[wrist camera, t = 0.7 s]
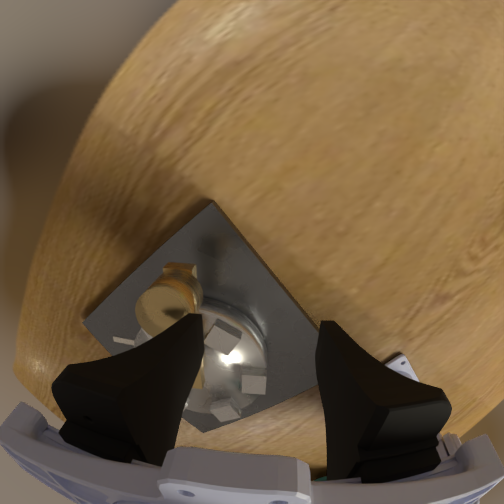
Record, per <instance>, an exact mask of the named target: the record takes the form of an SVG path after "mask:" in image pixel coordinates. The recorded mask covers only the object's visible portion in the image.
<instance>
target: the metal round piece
mask: <svg viewBox="0 0 504 504" xmlns="http://www.w3.org/2000/svg"><path fill="white" fill-rule="evenodd" d="M188 313H196V314H202V321H203V335H204V348H205V350H204V355H203V359H202V363H201V367H200V369H199V372H198V374H197V377H196V379H195V382H194V384H193V387H192V389H191V391H190V394H189V396H188V399H187V401H186V404H185V407H184V410H185V409H187V410H191V411H195V412H200V413H208V414H214V415H215V416H216V418H217V419H218V420H219V421H220V422H224V421H228V420H233V419H237V418H241V412H242V408H244V407H246V406H248V405H249V404H251V403H252V402H253V401H254V400H256V399H257V397H258V396H259V395H260V394H264V395H265V391H266V378H267V347H266V343H265V341H264V338H263V336H262V334H261V333H260V331H259V330H258V328H257V327H256V325H255V324H254V323H253V322H252V321H251V320H250V319H249V318H248V317H246V316H245V315H244V314H243V313H241V312H240V311H238V310H237V309H235V308H233V307H231V306H229V305H227V304H225V303H222V302H220V301H217V300H213V299H209V298H203V290H202V287H201V285H200V283H199V281H198V280H197V266H196V264H192V263H175V262H168V263H167V264H166V265H165V266H164V267H163V273H162V274H161V275H160V276H159V277H158V278H157V279H156V280H155V281H154V282H153V283H152V285H151V286H150V287H149V288H148V289H147V290H146V291H145V292H144V293H143V294H142V295H141V296H140V297H139V299H138V300H137V302H136V306H135V314H136V318H137V321H138V323H139V324H140V326H141V327H142V328H141V329H140V330H139V332H138V334H137V336H136V339H135V342H134V348H135V347H137V346H139V345H141V344H143V343H145V342H146V341H148V340H150V339H152V338H153V337H155V336H156V335H158V334H160V333H161V332H163V331H164V330H166V329H167V328H169V327H170V326H171V325H173V324H174V323H176V322H177V321H178V320H180V319H181V318H182V317H184V316H185V315H187V314H188ZM184 410H183V411H184Z"/></svg>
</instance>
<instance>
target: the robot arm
mask: <svg viewBox="0 0 504 504" xmlns="http://www.w3.org/2000/svg"><path fill="white" fill-rule="evenodd" d="M204 350H205V348H204V335H203V321H202V314H196V313H188V314H187V315H185V316H184V317H182V318H181V319H180V320H178V321H177V322H176V323H174V324H173V325H171V326H170V327H169V328H167V329H166V330H164V331H163V332H161V333H160V334H158V335H156V336H155V337H153V338H152V339H150V340H148V341H146V342H145V343H143V344H141V345H139V346H137V347H135V348H132V349H130V350H128V351H125V352H122V353H120V354H117V355H114V356H111V357H108V358H104V359H100V360H96V361H91V362H85V363H78V364H69V365H68V366H67V367H66V368H65V369H64V370H63V371H62V373H61V374H60V375H59V376H58V377H57V378H56V380H55V381H54V382H53V383H52V387H51V388H52V393H53V396H54V398H55V401H56V402H57V404H58V406H59V408H60V409H61V411H62V413H63V415H64V416H65V418H66V422H65V423H64V425H63V426H62V428H61V429H60V430H58V429H56V428H54V427H52V426H50V425H48V423H47V421H46V419H45V417H44V416H43V415H42V414H41V413H40V412H39V411H38V410H36V409H34V408H33V407H31V406H29V405H27V404H26V403H24V402H20V403H19V404H18V405H17V407H16V408H15V409H14V410H13V411H12V413H11V414H10V415H9V416H8V417H7V419H6V420H5V421H4V422H3V424H2V425H1V426H0V445H1V446H2V447H3V448H4V450H5V451H6V452H7V453H8V454H9V455H10V456H11V457H12V458H13V459H14V461H15V462H16V463H17V464H18V465H19V466H20V467H21V468H22V469H23V470H25V471H26V472H28V473H29V474H30V475H32V476H33V477H35V478H37V479H38V480H39V481H41V482H42V483H44V484H45V485H47V486H48V487H50V488H52V489H53V490H55V491H56V492H58V493H60V494H61V495H63V496H65V497H66V498H68V499H70V500H71V501H73V502H75V503H77V504H479V503H480V500H479V498H481V497H482V496H483V495H485V494H486V493H487V492H488V491H489V490H490V489H492V488H493V487H494V486H495V485H496V484H497V483H499V482H500V481H501V480H502V479H503V478H504V467H503V465H502V463H501V461H500V459H499V457H498V455H497V453H496V451H495V449H494V447H493V445H492V443H491V441H490V439H489V437H488V435H487V434H483V435H481V436H479V437H476V438H473V439H471V440H468V441H467V442H465V443H464V444H461V442H460V440H459V438H458V436H457V434H451V433H447V434H445V435H444V436H443V437H442V435H441V434H440V431H441V429H442V428H443V426H444V425H445V424H446V422H447V420H448V419H449V417H450V415H451V411H452V407H451V404H450V402H449V400H448V398H447V397H446V395H445V393H444V392H443V390H442V389H441V388H437V387H433V386H430V385H426V384H423V383H420V382H419V380H418V378H417V376H416V375H415V373H414V371H413V369H412V367H411V365H410V364H409V362H408V360H407V358H406V356H405V355H404V354H400V355H398V356H397V357H395V358H394V359H392V360H391V361H389V362H388V363H386V364H385V365H384V364H382V363H381V362H379V361H378V360H376V359H375V358H374V357H372V356H371V355H370V354H368V353H367V352H366V351H365V350H364V349H362V348H361V347H360V346H359V345H358V344H357V343H356V342H355V341H354V340H353V339H352V338H351V337H350V336H349V335H348V334H347V333H346V332H345V331H344V330H343V329H342V328H341V327H340V326H339V325H338V324H337V323H336V322H335V321H321V323H320V329H319V335H318V341H317V347H316V352H315V366H316V376H317V381H318V386H319V390H320V395H321V400H322V404H323V409H324V415H325V425H326V443H327V481H311V479H310V469H309V465H308V464H307V463H305V462H303V461H301V460H299V459H297V458H295V457H288V456H281V455H262V454H247V453H235V452H226V451H218V450H210V449H204V448H197V447H177V448H174V446H175V441H176V437H177V433H178V429H179V425H180V421H181V417H182V413H183V410H184V407H185V404H186V401H187V399H188V396H189V394H190V391H191V389H192V387H193V384H194V382H195V379H196V377H197V374H198V372H199V369H200V367H201V363H202V359H203V355H204ZM401 362H402V363H401Z"/></svg>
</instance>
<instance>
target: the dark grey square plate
mask: <svg viewBox="0 0 504 504" xmlns="http://www.w3.org/2000/svg"><path fill="white" fill-rule="evenodd" d="M168 262H175V263H192V264H196V266H197V280H198V281H199V283H200V285H201V287H202V290H203V298H209V299H213V300H217V301H220V302H222V303H225V304H227V305H229V306H231V307H233V308H235V309H237V310H238V311H240V312H241V313H243V314H244V315H245V316H246V317H248V318H249V319H250V320H251V321H252V322H253V323H254V324H255V325H256V327H257V328H258V330H259V331H260V333H261V334H262V336H263V338H264V341H265V343H266V347H267V378H266V391H265V395H264V394H260V395H259V396H258V397H257V399H256V400H254V401H253V402H252V403H251V404H249V405H248V406H246V407H244V408H242V412H241V418H237V419H233V420H228V421H224V422H220V421H219V420H218V419H217V418H216V416H215V415H214V414H208V413H200V412H195V411H191V410H187V409H185V410H184V411H183V413H182V418H184V419H185V420H186V421H188V422H189V423H190V424H192V425H193V426H194V427H196V428H197V429H198V430H200V431H201V432H203V433H204V432H207V431H210V430H213V429H216V428H219V427H222V426H224V425H227V424H230V423H233V422H235V421H238V420H240V419H243V418H246V417H248V416H251V415H253V414H255V413H258V412H260V411H263V410H265V409H267V408H269V407H272V406H274V405H276V404H278V403H281V402H283V401H285V400H287V399H289V398H291V397H293V396H295V395H298V394H300V393H302V392H304V391H306V390H308V389H310V388H312V387H313V386H315V385H317V384H318V381H317V376H316V366H315V352H316V347H317V341H318V335H319V328H318V327H317V326H316V325H315V323H314V322H313V321H312V320H311V318H310V317H309V316H308V315H307V314H306V312H305V311H304V310H303V309H302V307H301V306H300V305H299V304H298V302H297V301H296V300H295V299H294V298H293V296H292V295H291V294H290V293H289V291H288V290H287V289H286V288H285V286H284V285H283V284H282V283H281V282H280V280H279V279H278V278H277V277H276V275H275V274H274V273H273V272H272V271H271V269H270V268H269V267H268V266H267V264H266V263H265V262H264V261H263V259H262V258H261V257H260V256H259V255H258V253H257V252H256V251H255V250H254V248H253V247H252V246H251V245H250V244H249V242H248V241H247V240H246V239H245V237H244V236H243V235H242V234H241V233H240V231H239V230H238V229H237V228H236V226H235V225H234V224H233V223H232V222H231V220H230V219H229V218H228V217H227V215H226V214H225V213H224V212H223V211H222V209H221V208H220V207H219V206H218V204H217V203H216V202H215V201H213V202H212V203H211V204H209V205H208V206H207V207H206V208H205V209H203V210H202V211H201V212H200V213H199V214H197V215H196V216H195V217H194V218H193V219H192V220H190V221H189V222H188V223H187V224H186V225H185V226H184V227H182V228H181V229H180V230H179V231H178V232H177V233H176V234H174V235H173V236H172V237H171V238H170V239H169V240H168V241H167V242H165V243H164V244H163V245H162V246H161V247H160V248H159V249H158V250H157V251H155V252H154V253H153V254H152V255H151V256H150V257H149V258H148V259H147V260H146V261H145V262H144V263H142V264H141V265H140V266H139V267H138V268H137V269H136V270H135V271H134V272H133V273H132V274H131V275H130V276H129V277H128V278H127V279H126V280H125V281H123V282H122V283H121V284H120V285H119V286H118V287H117V288H116V289H115V290H114V291H113V292H112V293H111V294H110V295H109V296H108V297H107V298H106V299H105V300H104V301H103V302H102V303H101V304H100V305H99V306H98V307H97V308H96V309H95V310H94V311H93V312H92V313H91V314H90V315H89V316H88V317H87V318H86V319H85V320H84V321H83V322H82V323H83V324H84V325H85V326H86V328H87V329H88V330H89V331H90V332H91V333H92V334H93V335H94V337H95V338H96V339H97V340H98V341H99V342H100V343H101V344H102V345H103V346H104V347H105V348H106V349H107V351H108V352H109V353H110V354H111V355H112V356H114V355H117V354H120V353H122V352H125V351H128V350H130V349H132V348H134V342H135V339H136V336H137V334H138V332H139V330H140V329H141V328H142V327H141V326H140V324H139V323H138V321H137V318H136V314H135V306H136V302H137V300H138V299H139V297H140V296H141V295H142V294H143V293H144V292H145V291H146V290H147V289H148V288H149V287H150V286H151V285H152V283H153V282H154V281H155V280H156V279H157V278H158V277H159V276H160V275H161V274H162V273H163V267H164V266H165V265H166V264H167V263H168Z"/></svg>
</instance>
